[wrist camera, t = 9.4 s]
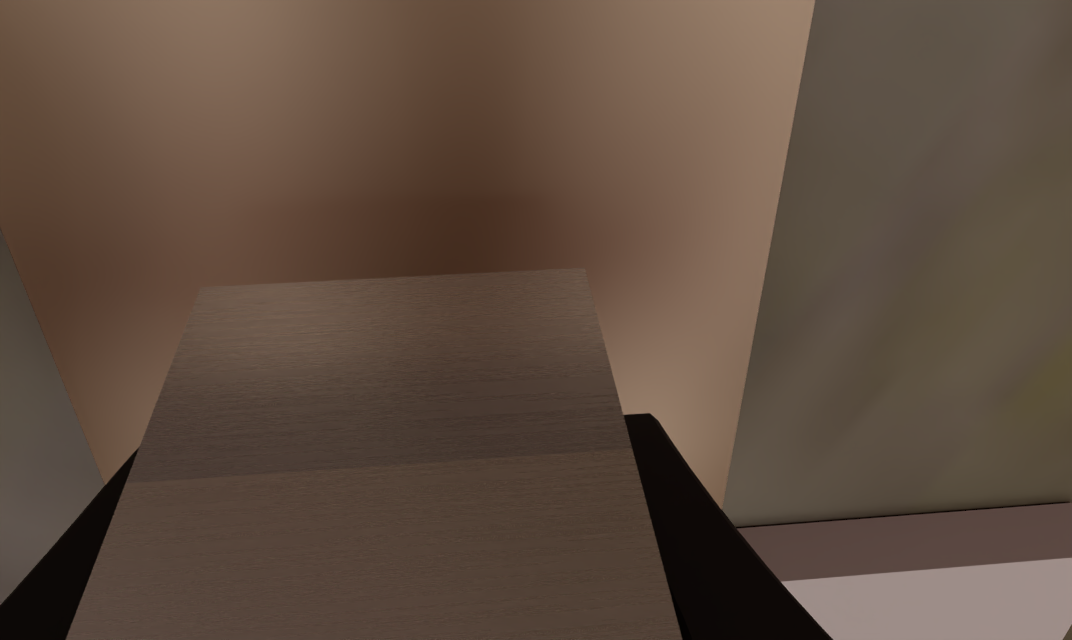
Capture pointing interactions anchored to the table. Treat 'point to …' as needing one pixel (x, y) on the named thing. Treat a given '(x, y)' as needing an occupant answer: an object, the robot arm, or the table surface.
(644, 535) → the block
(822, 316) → the table surface
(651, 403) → the stand
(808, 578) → the stand
